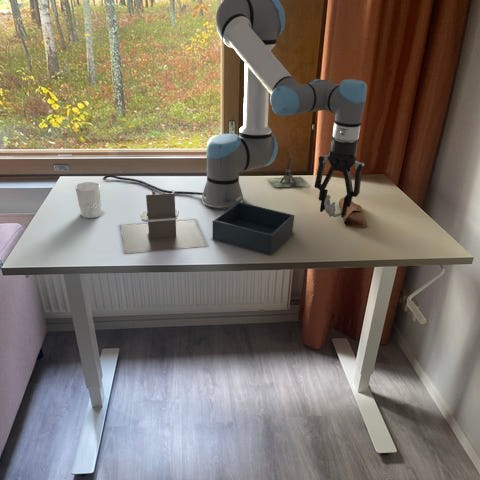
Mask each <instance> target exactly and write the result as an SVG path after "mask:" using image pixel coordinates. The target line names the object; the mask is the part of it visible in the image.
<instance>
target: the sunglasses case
mask: <svg viewBox="0 0 480 480" xmlns="http://www.w3.org/2000/svg"><path fill="white" fill-rule="evenodd" d="M344 198H345V197H341V198H340V199H339V201H338V206H339V209H340V213H341V212H342V209H343V203H344ZM342 221H343V224H344V225H345V227H347V228H348V227H349V228H367V227H368V224H367V221H366V218H365V216H364V212H363V209H362V206H361V205H360V204H357V203H355V202H354V201H352V202H351V205H350V206H349V207H347V212H346V215H345V216H344V217H342Z"/></svg>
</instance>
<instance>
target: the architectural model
mask: <svg viewBox="0 0 480 480" xmlns="http://www.w3.org/2000/svg"><path fill="white" fill-rule="evenodd" d="M171 191H172V193H156V189H154V190H152V191H151V194H146V195H145V199H146V211H143V212H141V213H140V219H141V222H144V223H140V224H139V223H137V224H126V225H120V231H121V232H120V233H121V238H122V243H123V248H124V253H125V254H135V253H136V254H137V253H146V252H147V253H148V252H156V251H169V250H177V249H178V250H180V249H189V248H190V249H191V248H200V247H207V244H206V243H205V240H204V238H203V236H202V233H201V231H200V229H199V227H198V224H197V222H196V221H195V219H189V220H178V221H177V219H178V218H179V214H180V211H179V210H178V209H176V196H175V195H176V194H175V193H174V191H175V190H173V189H172V190H171Z"/></svg>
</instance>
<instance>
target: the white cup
mask: <svg viewBox="0 0 480 480" xmlns="http://www.w3.org/2000/svg"><path fill="white" fill-rule="evenodd" d="M74 188H75V193H76V197H77V201H78V206H79V209H80V215H81V217H83V218H87V219H94V218H98V217H100V216H102V197H101V186H100V184H99V183H98V182H93V181H85V182H81V183H78V184H76V185H75V186H74Z"/></svg>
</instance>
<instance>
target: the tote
mask: <svg viewBox="0 0 480 480" xmlns="http://www.w3.org/2000/svg"><path fill="white" fill-rule="evenodd" d="M294 222H295V214H291V213H287V212H283V211H278V210H274V209H271V208H266V207H262V206H257V205H253V204H250V203H246V202H243V203H241V202H237V203H236V204H235V205H233V206H232V207H231V208H229V209H225V211H223V212H222V213H220V214H219V215H218V216H217V217H215V218H214V219H213V220H212V240H214V241H216V242H221V243H225V244H227V245H232V246H235V247H239V248H243V249H246V250H250V251H253V252H258V253H261V254H265V255H268V256H271V255H272V254H273V253H274V252H276V250H277V249H279V247H281V245H283V244H284V243H285V242H286V241H287V239H289V237H291V236H292V235H293V232H294V231H293V230H294Z"/></svg>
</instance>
